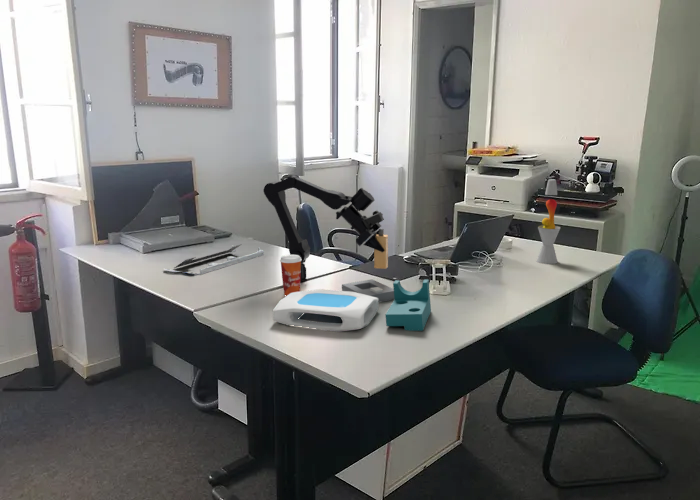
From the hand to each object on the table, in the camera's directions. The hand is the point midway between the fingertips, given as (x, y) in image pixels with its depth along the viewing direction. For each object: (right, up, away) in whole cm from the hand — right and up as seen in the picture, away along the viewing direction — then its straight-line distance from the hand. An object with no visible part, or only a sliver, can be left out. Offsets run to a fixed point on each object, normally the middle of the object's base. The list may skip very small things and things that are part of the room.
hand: (384, 250), depth 211 cm
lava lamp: (+72, -5, +34) cm, 80 cm away
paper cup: (-33, -16, -7) cm, 38 cm away
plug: (-1, -6, +2) cm, 7 cm away
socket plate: (-6, -16, -9) cm, 19 cm away
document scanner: (-20, -22, -31) cm, 43 cm away
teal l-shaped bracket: (+6, -22, -34) cm, 41 cm away
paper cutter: (-72, -6, +41) cm, 83 cm away
